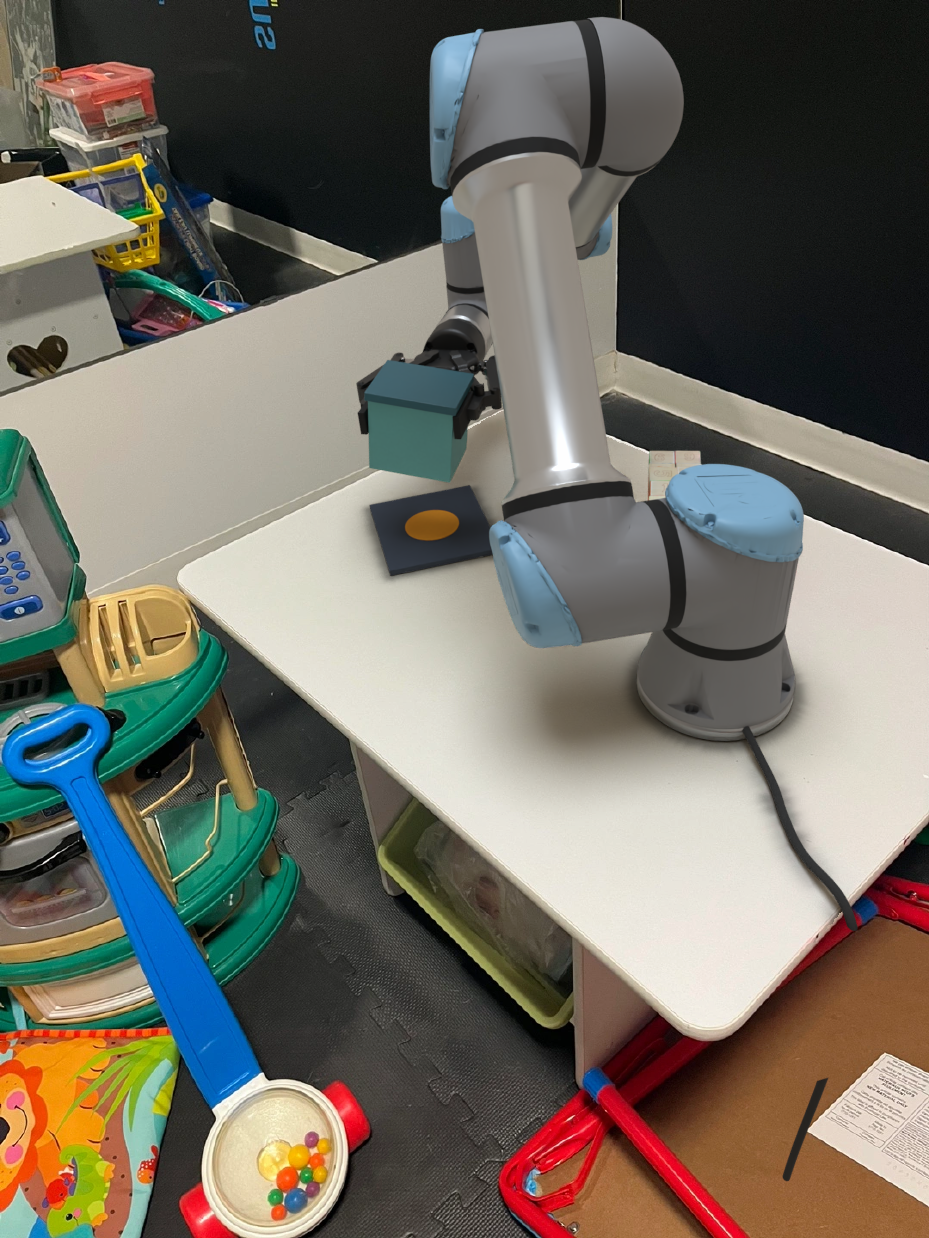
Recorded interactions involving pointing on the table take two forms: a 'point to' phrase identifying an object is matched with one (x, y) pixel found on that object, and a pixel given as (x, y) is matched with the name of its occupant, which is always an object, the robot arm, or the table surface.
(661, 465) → the stack of blocks
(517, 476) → the robot arm
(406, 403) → the teal box
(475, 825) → the table surface
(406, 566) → the mat
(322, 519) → the table surface
